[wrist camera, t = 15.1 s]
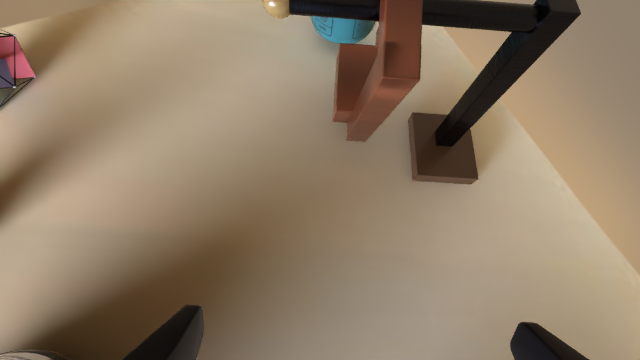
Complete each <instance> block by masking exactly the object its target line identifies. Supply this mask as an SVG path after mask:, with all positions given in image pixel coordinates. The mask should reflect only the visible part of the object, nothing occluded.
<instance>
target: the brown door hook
mask: <svg viewBox="0 0 640 360" xmlns="http://www.w3.org/2000/svg"><path fill="white" fill-rule="evenodd" d="M422 6H423V0H380V17H379V27H378V29H377V32H376V46H373V45H360V44H346V43H340V45H339V50H338V56H337V61H336V77H335V94H334V110H333V122H345V123H347V136H346V140H347V141H360V142H365V141H366V140H367V139H368V138H369V137H370V136H371V135H372V134H373V132H374V131H375V130H376V129H377V128H378V127H379V126H380V125H381V124H382V122H383V121H384V120H385V119H386V118H387V117H388V116H389V115H390V113H391V112H392V111H393V110H394V109H395V108H396V106H397V105H398V104H399V103H400V102H401V101H402V100H403V99H404V97H405V96H406V95H407V94H408V93H409V92H410V91H411V90H412V88H413V87H414V86H415V85H416V84H417V83H418V82H419V80H420V68H421V34H422Z"/></svg>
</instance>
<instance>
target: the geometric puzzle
mask: <svg viewBox="0 0 640 360" xmlns="http://www.w3.org/2000/svg"><path fill="white" fill-rule="evenodd" d="M0 30H1V29H0ZM2 31H3V30H2ZM5 32H6V31H5ZM7 33H8V32H7ZM0 34H3V35H7V36H0V89H4V88H13V87H14V88H16V87H17V86H19V85H21V84H23V83H25V82H27V81H29V80H30V81H31V80H32V79H33V78H35V77H37V76H35V75H34V73H33V71H32V69H31V67H30V65H29V63H28V61H27V59H26V57H25V55H24V53H23V51H22V49H21V47H20V45H19V43H18V41H17V39H16V35H15V34H14V35H13V34H12V35H11V34H10V33H9V34H4V33H0ZM27 77H33V78H31V79H29V80H27V81H25V82H23V83H21V84H19V85H17V86H16V79H17V78H27ZM13 79H14V81H13ZM30 81H29V82H30ZM29 82H28V83H29ZM28 83H27V84H28ZM27 84H26V85H27ZM23 87H24V86H23ZM23 87H22V88H23ZM14 88H13V89H12V91H13V90H14ZM22 88H21V89H22ZM21 89H20V90H21ZM20 90H19V91H20ZM12 91H11V92H12ZM19 91H18V92H19ZM11 92H10V93H9V95H10V94H11ZM15 94H16V93H15ZM15 94H14V95H15ZM9 95H8V96H9ZM14 95H13V96H14ZM8 96H7V97H8ZM13 96H12V97H13ZM7 97H6V98H5V100H6V99H7ZM12 97H11V98H12ZM11 98H10V99H11ZM5 100H4V101H5ZM4 101H3V102H4ZM7 101H8V100H7ZM7 101H6V102H7ZM3 102H2V103H1V105H2V104H3ZM6 102H5V103H6ZM5 103H4V104H5ZM4 104H3V105H4ZM1 105H0V107H1Z"/></svg>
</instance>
